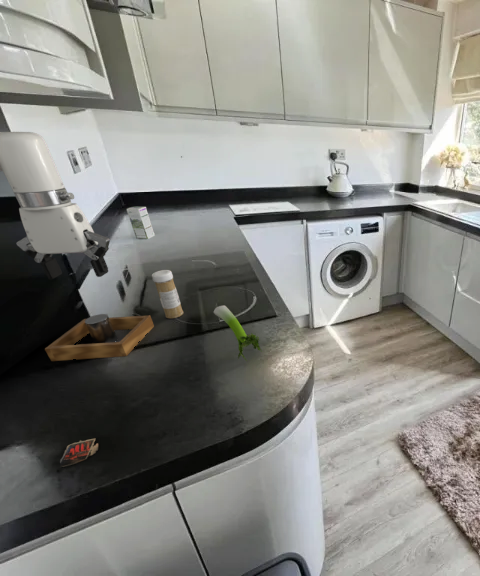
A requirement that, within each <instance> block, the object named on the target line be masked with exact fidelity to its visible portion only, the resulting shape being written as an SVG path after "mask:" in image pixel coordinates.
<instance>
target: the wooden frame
mask: <svg viewBox="0 0 480 576" xmlns="http://www.w3.org/2000/svg"><path fill="white" fill-rule="evenodd" d="M86 319H87V318H83V319H82V320H81V321H80V322H78V323H77V324H75V325H74V326H72V327H71V328H70V329H69V330H68V331H66V332H65V333H64V334H62V335H61V336H60V337H58V338H57V339H56V340H54V341H53V342H52V343H50V344H49V345H48V346H46V347H45V348H44V351H45V352H46V354H47V356H48V358H49V359H50V361H51V362H58V361H59V362H60V361H74V360H73V359H76V360H87V359H90V360H91V359H104V358H119V357H127V356H128V355H129V354H130V353H131V352H132V351H133V350H134V349H135V348H136V347H137V346H138V345H139V343H140V342H141V341H142V340H143V339H144V338H145V337H146V336H147V335H148V334H149V333H150V332H151V330H153V328H154V327H155V325H154V322H153V319H152V317H151V315H134V316H131V315H130V316H113V317H112V316H111V317H109V319H110V322H111V324H112V326H113V329H114V331H125V330H127V331H128V329H129V330H130V331H129V332H128V333H127V334H126V335H125V336H124V337H122V339H121V340H120V341H117V342H112V343H96V344H95V343H81V344H76V345H74V344H75V343H76V342H78V341H79V340H80V341H82V340H83V339H84V338H85V337H87V336H88V335H89V334H90V332H89V330H88V328H87V326H86V324H85V320H86ZM147 333H148V334H147ZM87 334H88V335H87ZM146 334H147V335H146ZM145 335H146V336H145ZM83 337H84V338H83ZM82 338H83V339H82ZM81 339H82V340H81ZM80 341H79V342H80ZM139 341H140V342H139ZM79 342H78V343H79ZM138 342H139V343H138ZM135 346H136V347H135ZM134 347H135V348H134Z"/></svg>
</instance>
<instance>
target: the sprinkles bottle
mask: <svg viewBox="0 0 480 576" xmlns="http://www.w3.org/2000/svg"><path fill="white" fill-rule="evenodd" d="M151 278H152V281H153V282H154V285H155V288H156V290H157V294H158V296H159V300H160V303H161V306H162V307H161V308H162V309H163V312H164V314H165V315H164V316H165V318H167V319H169V320H170V319H177V318H179V317H181V316H183V315H184V310H183V308H182V305H181V300H180V296H179V293H178V290H177V287H176V284H175V282H174V275H173V272H172V271H171V270H170V269H162V270H157V271H154V272H152V274H151Z"/></svg>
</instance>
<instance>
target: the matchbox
mask: <svg viewBox="0 0 480 576" xmlns="http://www.w3.org/2000/svg"><path fill="white" fill-rule="evenodd" d="M95 441H96V438H95V437H94V438H91V439H86V440H79V441H78V442H73V443H71V444H68V445H67V446H66V449H65V450H64V453H63V455H62V457H61V458H60V460H59V463H60V464H59V468H62V467H63V468H64V467H69V466H71V465H75V464H78V463H80V462H83V461H85V460H87V459H88V458H89V456H93V455H94V454H96V453H97V451H98V450H99V442H98V443H96V444H95Z"/></svg>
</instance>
